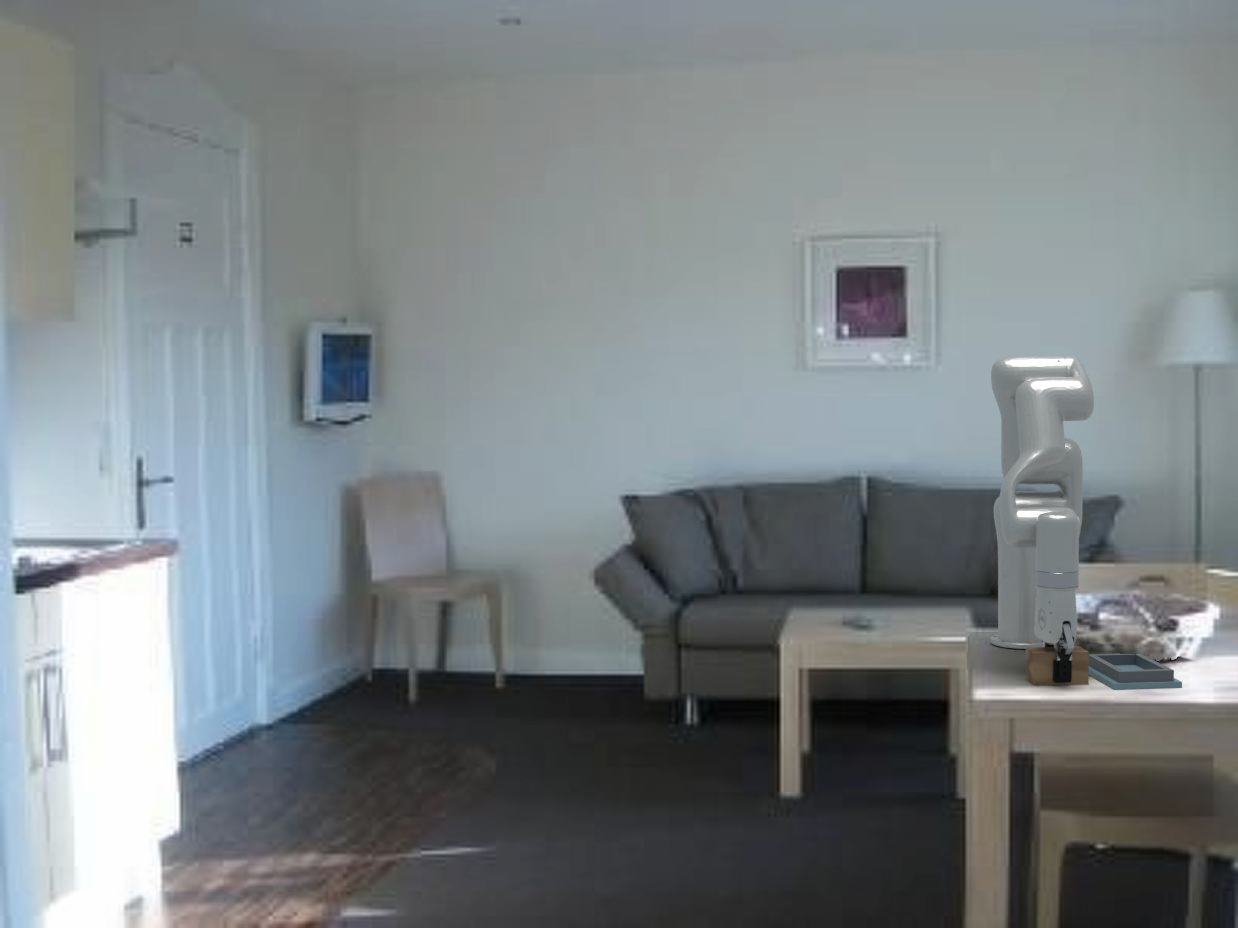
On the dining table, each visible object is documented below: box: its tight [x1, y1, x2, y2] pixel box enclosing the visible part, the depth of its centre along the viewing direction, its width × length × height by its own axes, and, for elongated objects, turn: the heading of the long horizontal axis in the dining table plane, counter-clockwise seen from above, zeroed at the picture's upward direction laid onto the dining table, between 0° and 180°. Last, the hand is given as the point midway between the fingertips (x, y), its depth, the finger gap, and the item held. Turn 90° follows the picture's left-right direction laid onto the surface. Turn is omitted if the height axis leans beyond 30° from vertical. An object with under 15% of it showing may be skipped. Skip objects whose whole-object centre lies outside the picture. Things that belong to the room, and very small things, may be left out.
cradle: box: [1089, 653, 1183, 690], centre depth 275 cm, size 17×12×3 cm
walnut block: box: [1025, 645, 1090, 687], centre depth 273 cm, size 5×10×6 cm, turn 91°
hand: (1056, 677), depth 274 cm, fingers closed on walnut block, 5 cm apart
